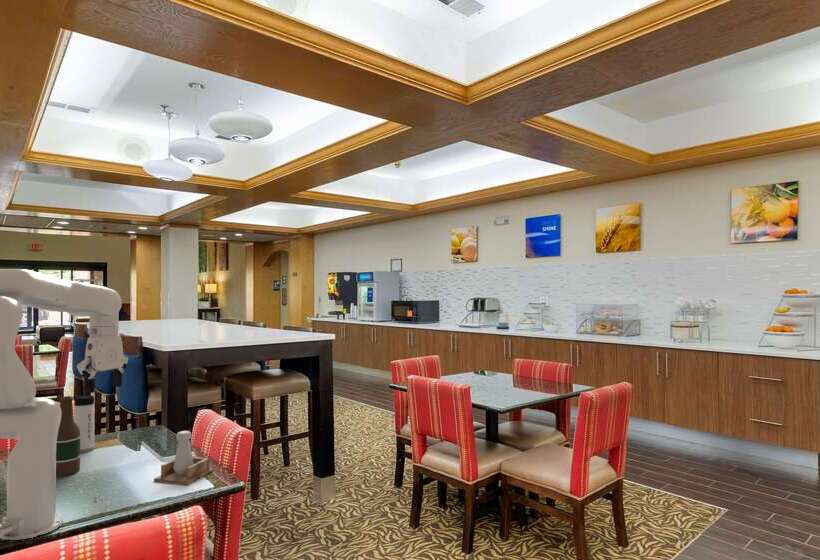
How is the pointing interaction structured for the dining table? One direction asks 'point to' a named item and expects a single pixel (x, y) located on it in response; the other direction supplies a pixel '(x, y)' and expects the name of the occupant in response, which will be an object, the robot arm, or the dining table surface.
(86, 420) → the travel mug
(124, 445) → the dining table surface
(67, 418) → the beer bottle
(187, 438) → the salt shaker
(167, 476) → the walnut U-rest
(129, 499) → the dining table surface
